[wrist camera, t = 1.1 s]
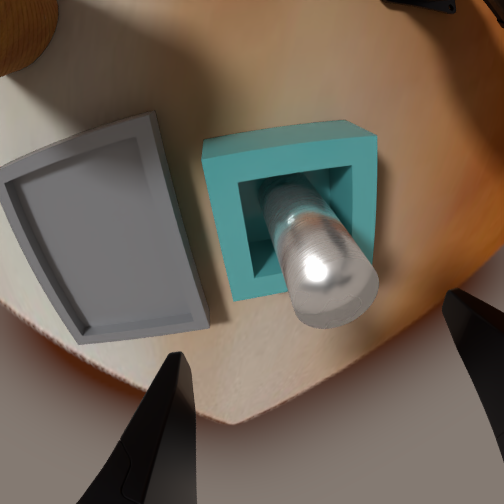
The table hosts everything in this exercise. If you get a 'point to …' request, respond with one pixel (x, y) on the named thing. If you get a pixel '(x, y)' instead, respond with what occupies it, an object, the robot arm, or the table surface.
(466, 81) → the table surface
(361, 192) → the teal square open box
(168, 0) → the table surface
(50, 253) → the charcoal tray
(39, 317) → the table surface
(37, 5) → the disposable coffee cup
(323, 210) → the steel pin
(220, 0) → the table surface
